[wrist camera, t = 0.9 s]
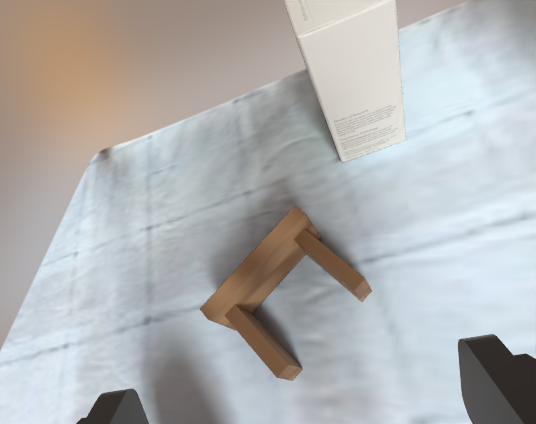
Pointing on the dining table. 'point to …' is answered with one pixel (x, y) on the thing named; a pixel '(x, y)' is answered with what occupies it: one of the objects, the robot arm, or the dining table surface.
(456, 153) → the dining table surface
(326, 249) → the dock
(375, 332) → the dining table surface
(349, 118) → the skincare box
